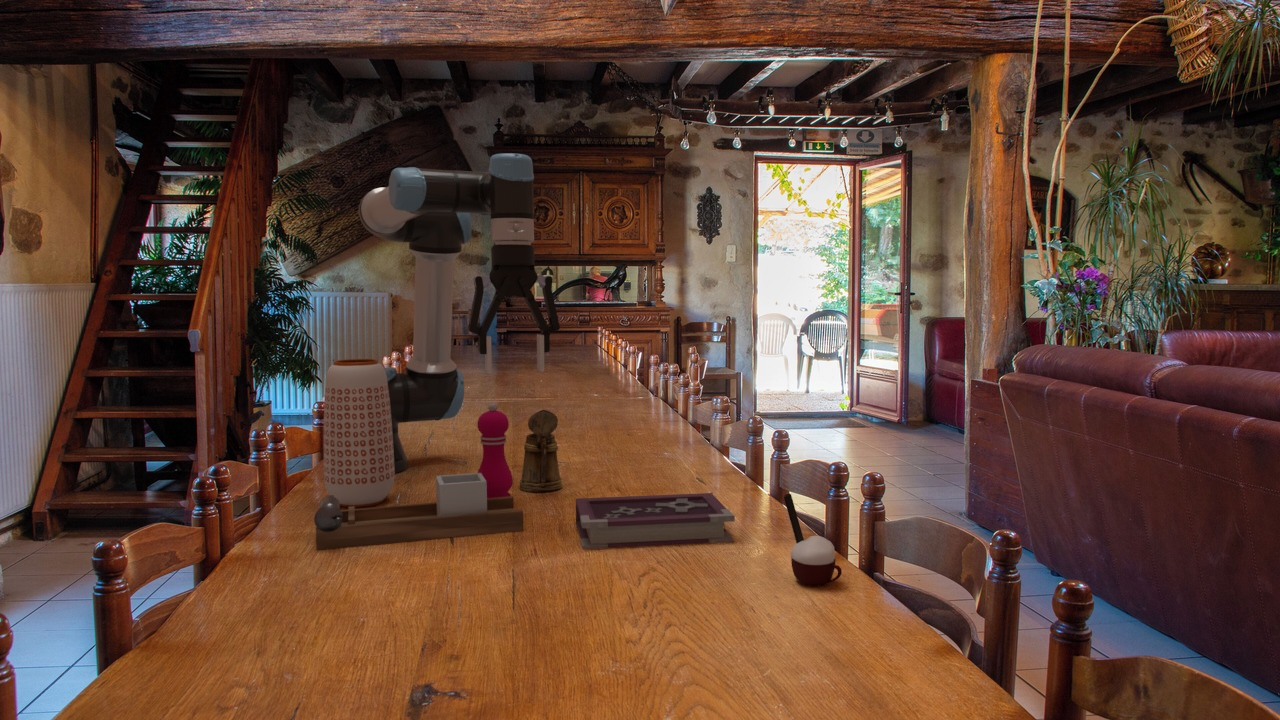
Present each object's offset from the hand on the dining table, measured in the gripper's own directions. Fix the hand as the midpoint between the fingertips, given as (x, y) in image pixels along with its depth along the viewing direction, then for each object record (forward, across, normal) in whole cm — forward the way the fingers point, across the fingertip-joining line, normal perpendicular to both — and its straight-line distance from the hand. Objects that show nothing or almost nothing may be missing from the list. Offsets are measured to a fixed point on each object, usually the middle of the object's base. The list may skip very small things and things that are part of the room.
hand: (514, 371), depth 155 cm
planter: (+28, -27, +24) cm, 46 cm away
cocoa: (+28, +35, -44) cm, 63 cm away
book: (+28, +21, -13) cm, 38 cm away
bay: (+27, -17, 0) cm, 32 cm away
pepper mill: (+28, -2, +14) cm, 31 cm away
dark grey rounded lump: (+26, -32, -2) cm, 41 cm away
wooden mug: (+28, +9, +22) cm, 37 cm away
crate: (+26, -10, 0) cm, 28 cm away
